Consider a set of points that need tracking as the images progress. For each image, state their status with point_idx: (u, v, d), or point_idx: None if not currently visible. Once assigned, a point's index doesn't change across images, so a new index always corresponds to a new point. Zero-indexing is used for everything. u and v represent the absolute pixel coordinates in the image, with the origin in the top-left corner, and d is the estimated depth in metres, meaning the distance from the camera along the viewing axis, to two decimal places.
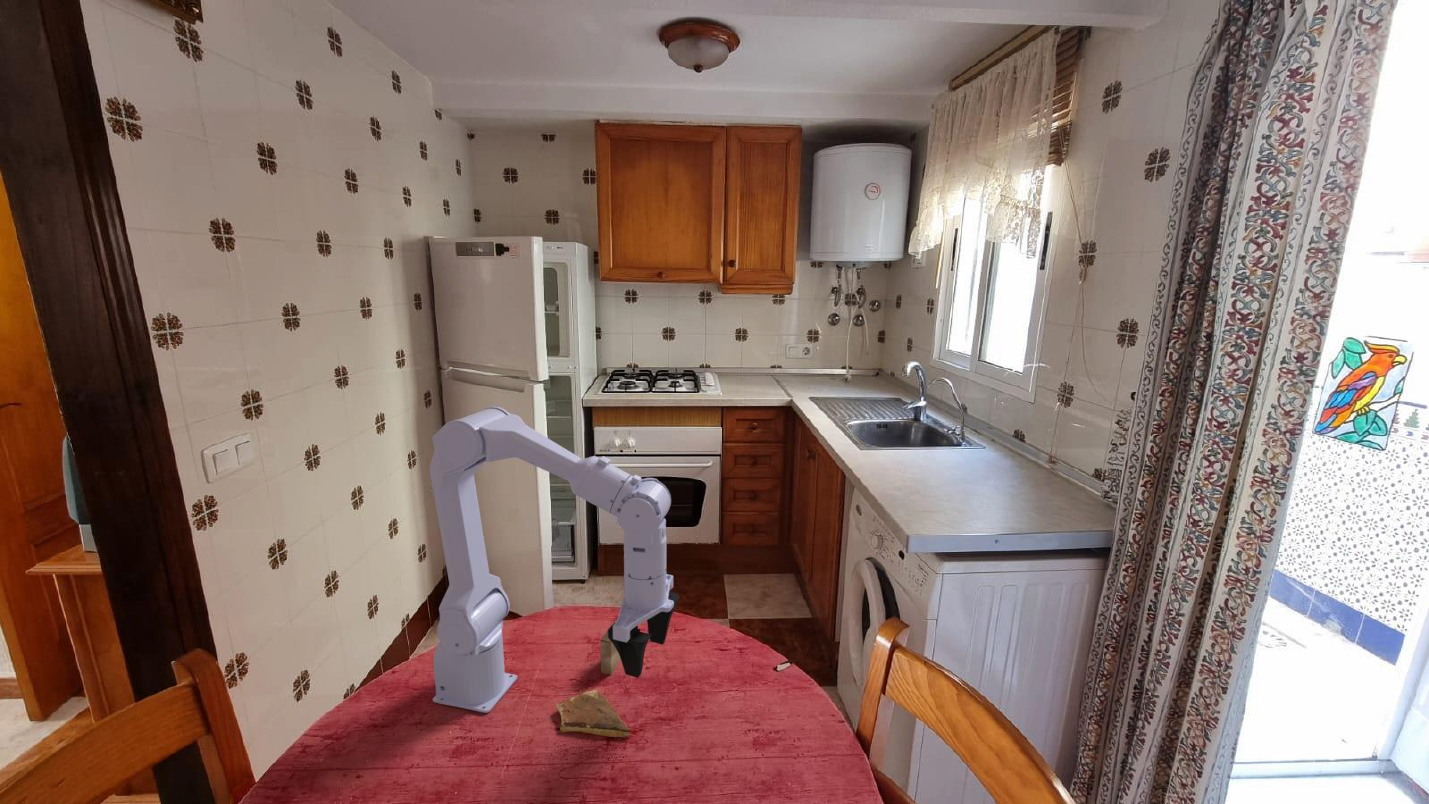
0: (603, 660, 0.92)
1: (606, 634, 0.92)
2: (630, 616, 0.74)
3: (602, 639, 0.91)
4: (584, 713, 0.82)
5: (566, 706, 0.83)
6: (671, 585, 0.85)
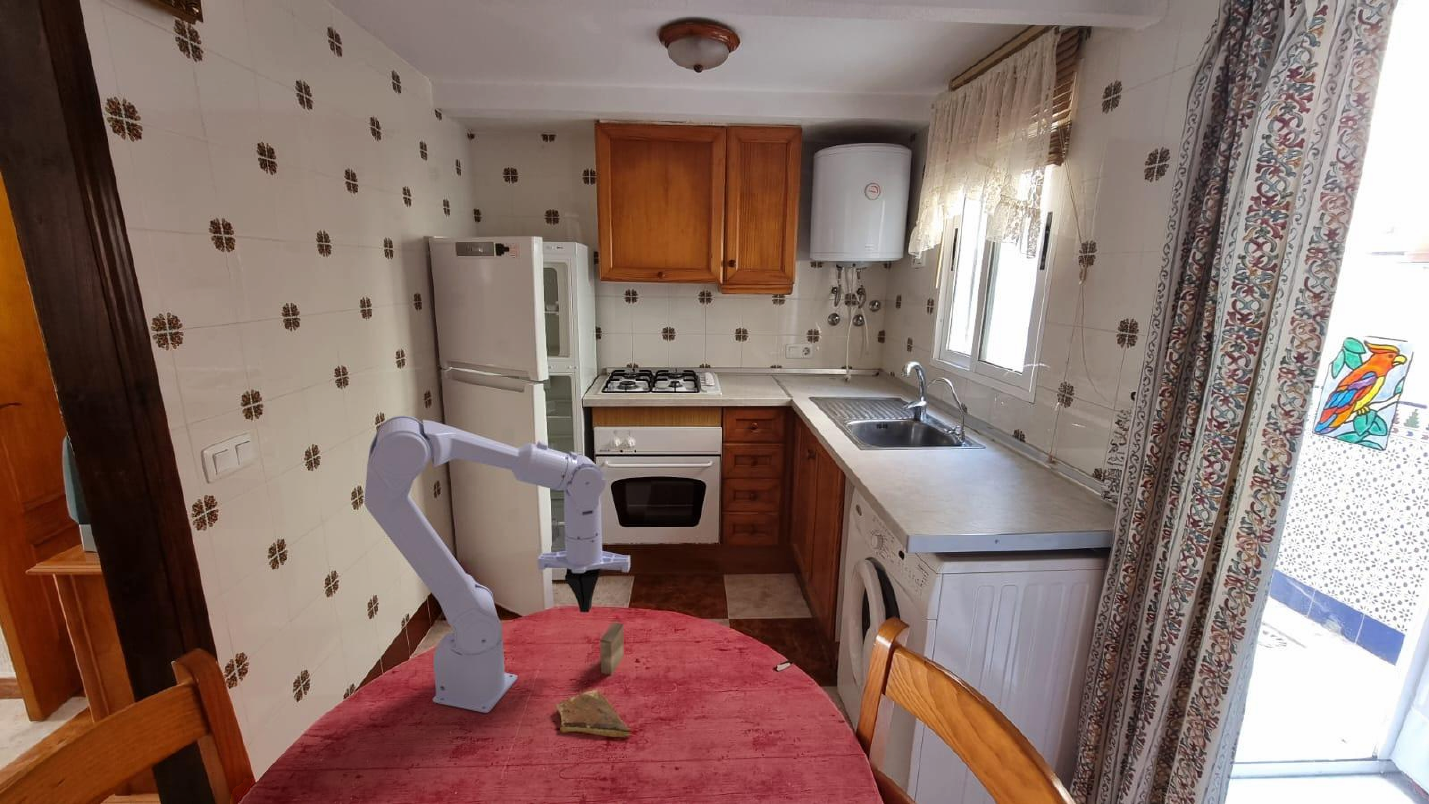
0: (603, 660, 0.92)
1: (606, 634, 0.92)
2: (555, 556, 0.91)
3: (602, 639, 0.91)
4: (584, 713, 0.82)
5: (566, 706, 0.83)
6: (624, 568, 0.91)
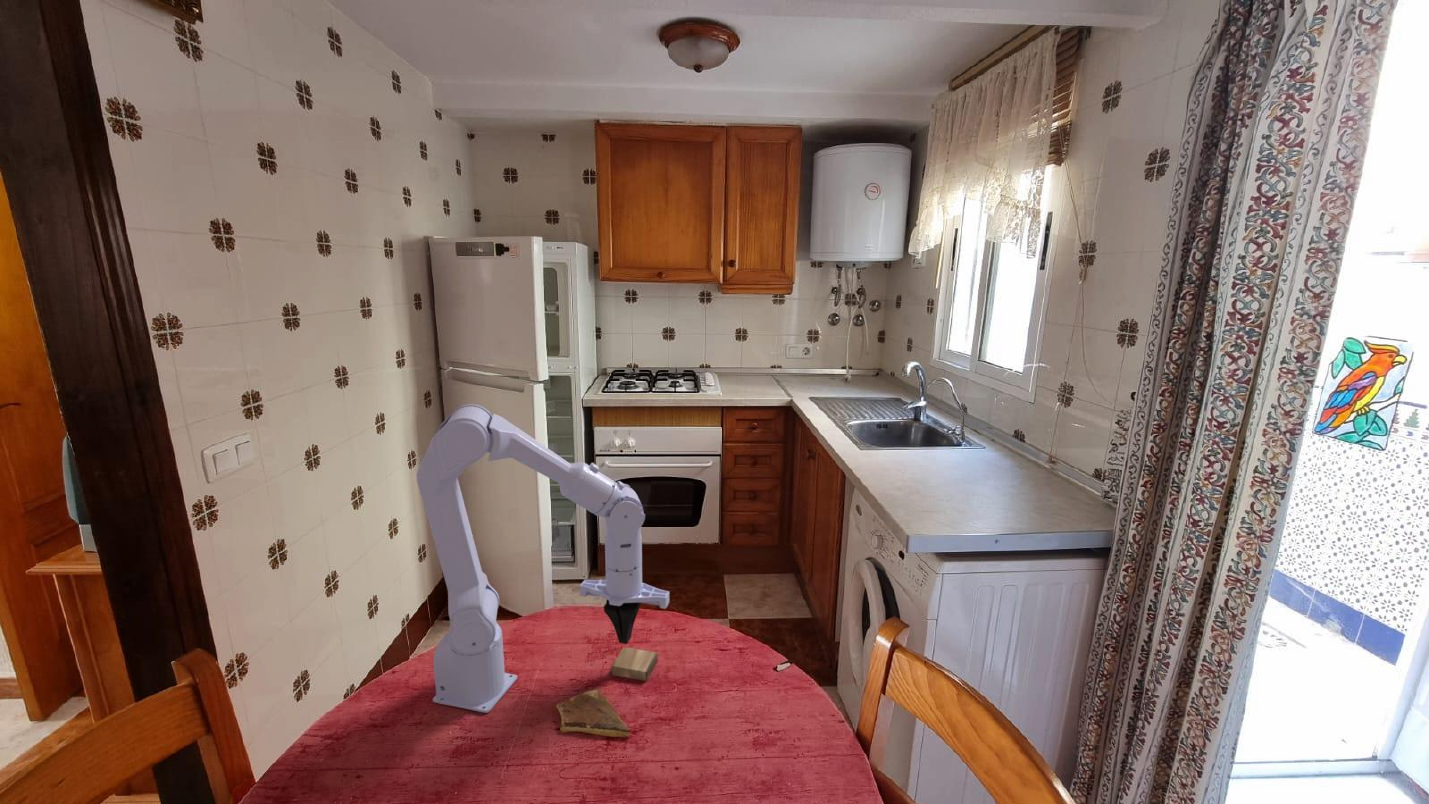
0: (625, 670, 0.91)
1: (650, 667, 0.92)
2: (597, 585, 0.92)
3: (647, 672, 0.90)
4: (584, 713, 0.82)
5: (566, 706, 0.83)
6: (661, 604, 0.89)
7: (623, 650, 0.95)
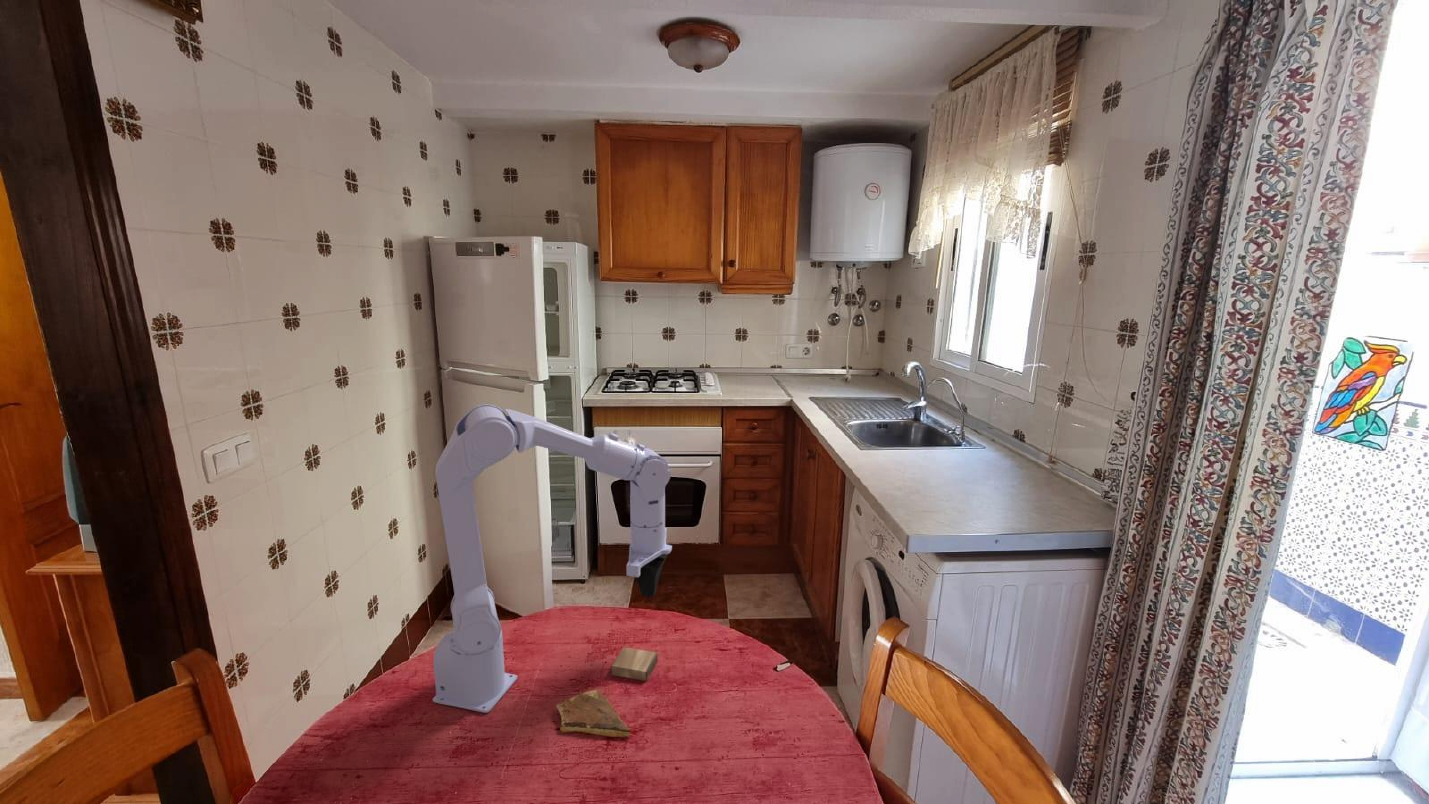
0: (625, 670, 0.91)
1: (650, 667, 0.92)
2: (639, 557, 0.91)
3: (647, 672, 0.90)
4: (584, 713, 0.82)
5: (566, 706, 0.83)
6: (665, 536, 1.02)
7: (623, 650, 0.95)
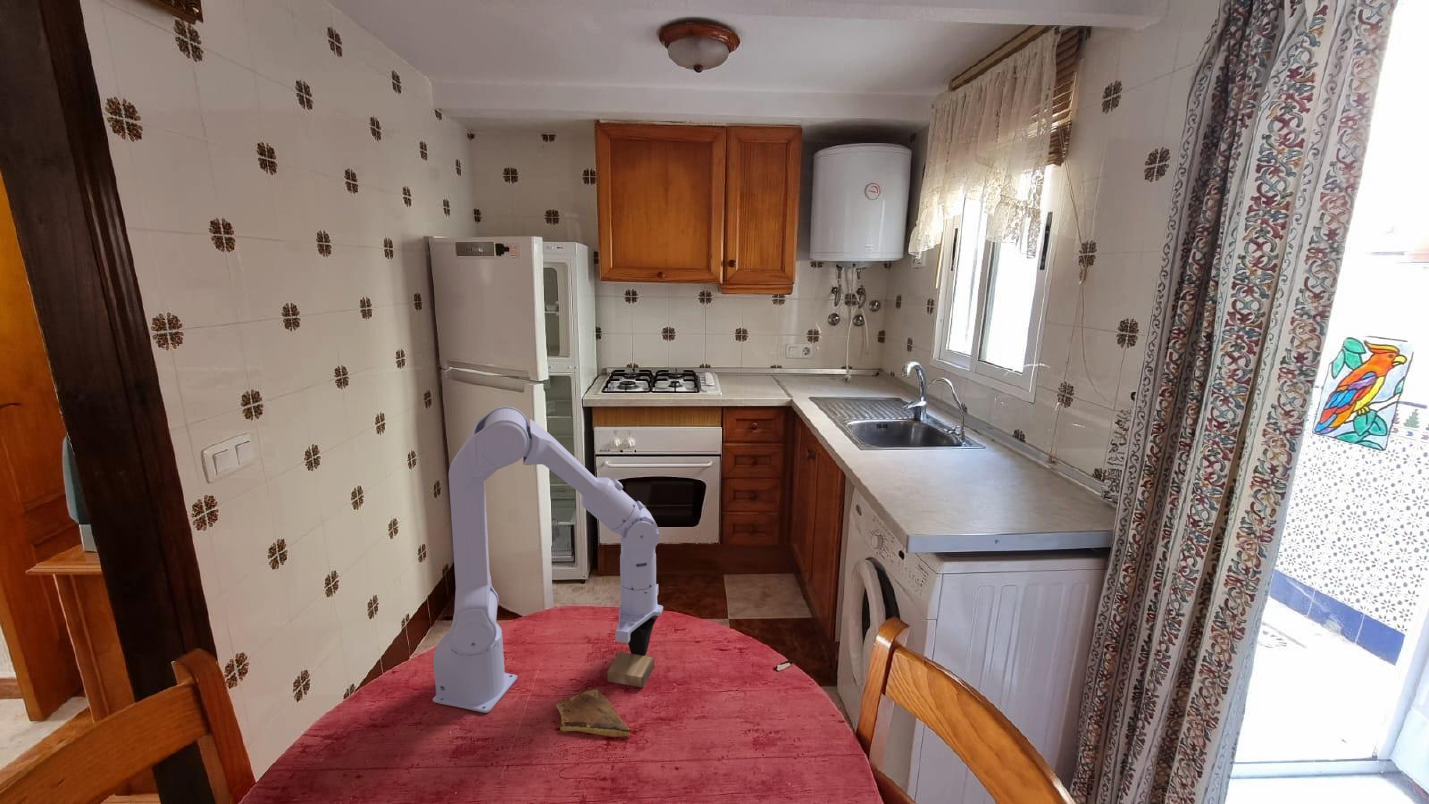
0: (621, 676, 0.89)
1: (646, 673, 0.90)
2: (629, 621, 0.89)
3: (643, 678, 0.89)
4: (584, 713, 0.82)
5: (566, 705, 0.83)
6: (657, 592, 0.99)
7: (619, 655, 0.94)
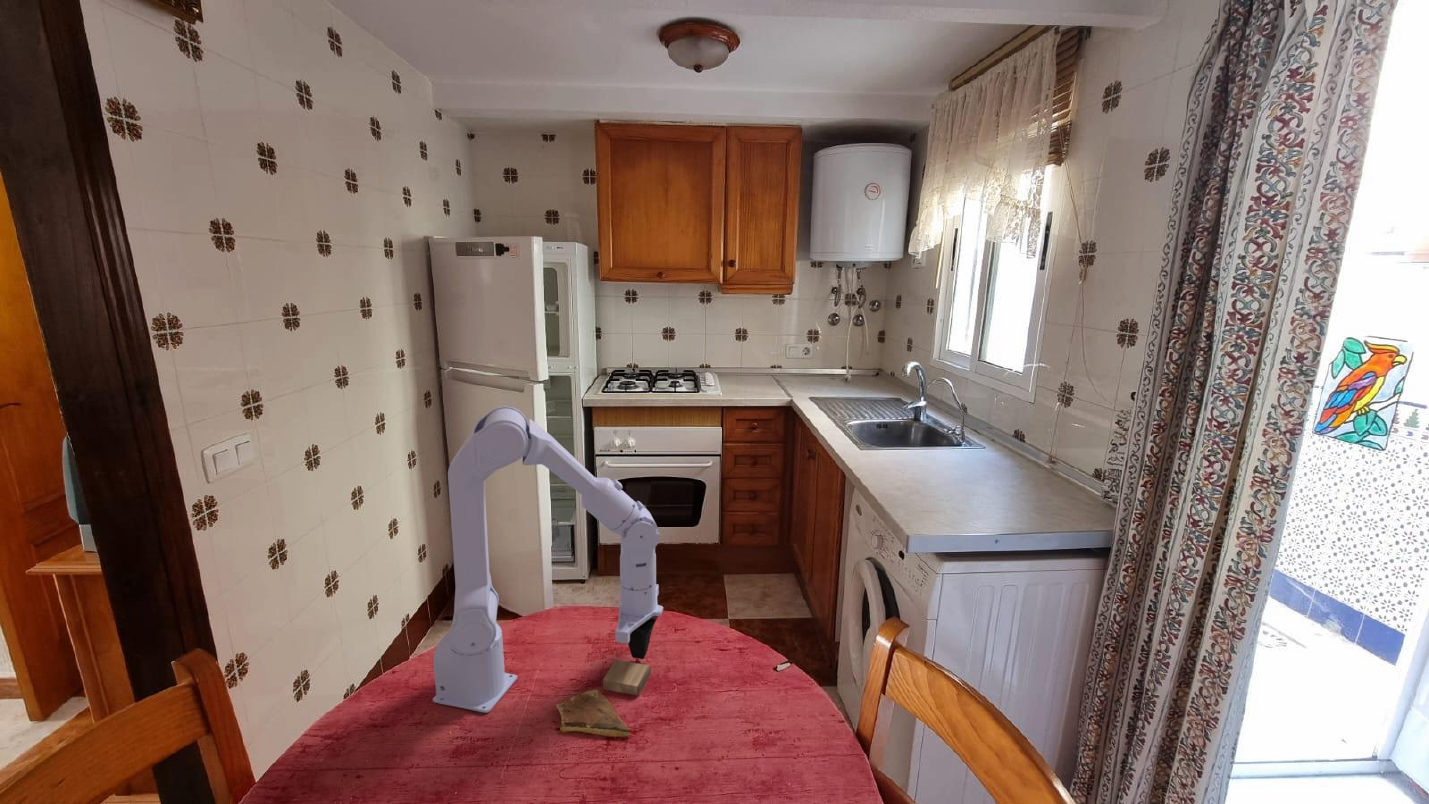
0: (617, 684, 0.88)
1: (642, 681, 0.88)
2: (628, 621, 0.88)
3: (639, 687, 0.87)
4: (584, 713, 0.82)
5: (566, 705, 0.83)
6: (657, 593, 0.99)
7: (615, 663, 0.92)
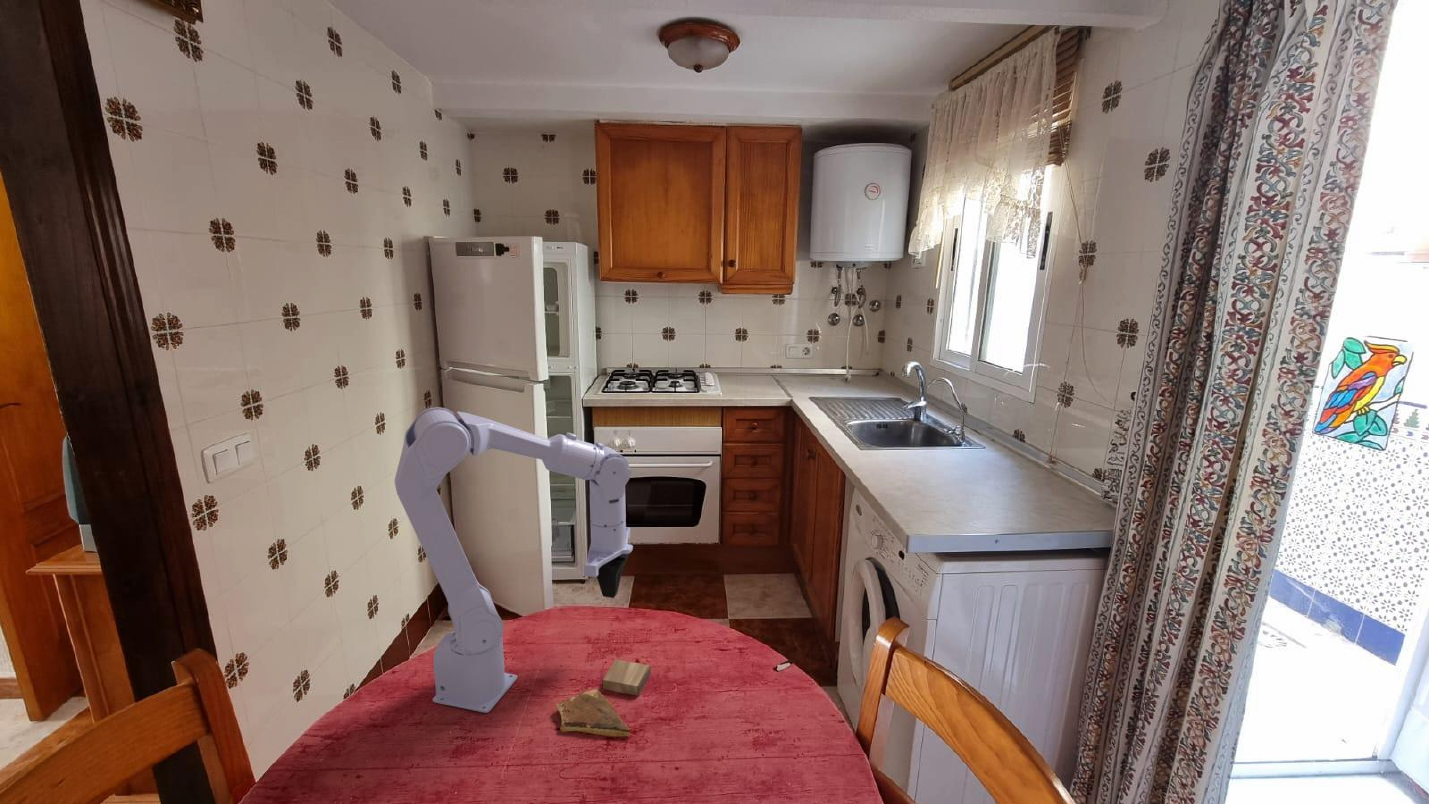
0: (617, 684, 0.88)
1: (642, 681, 0.88)
2: (597, 557, 0.90)
3: (639, 687, 0.87)
4: (584, 713, 0.82)
5: (566, 706, 0.83)
6: (628, 536, 1.01)
7: (615, 663, 0.92)
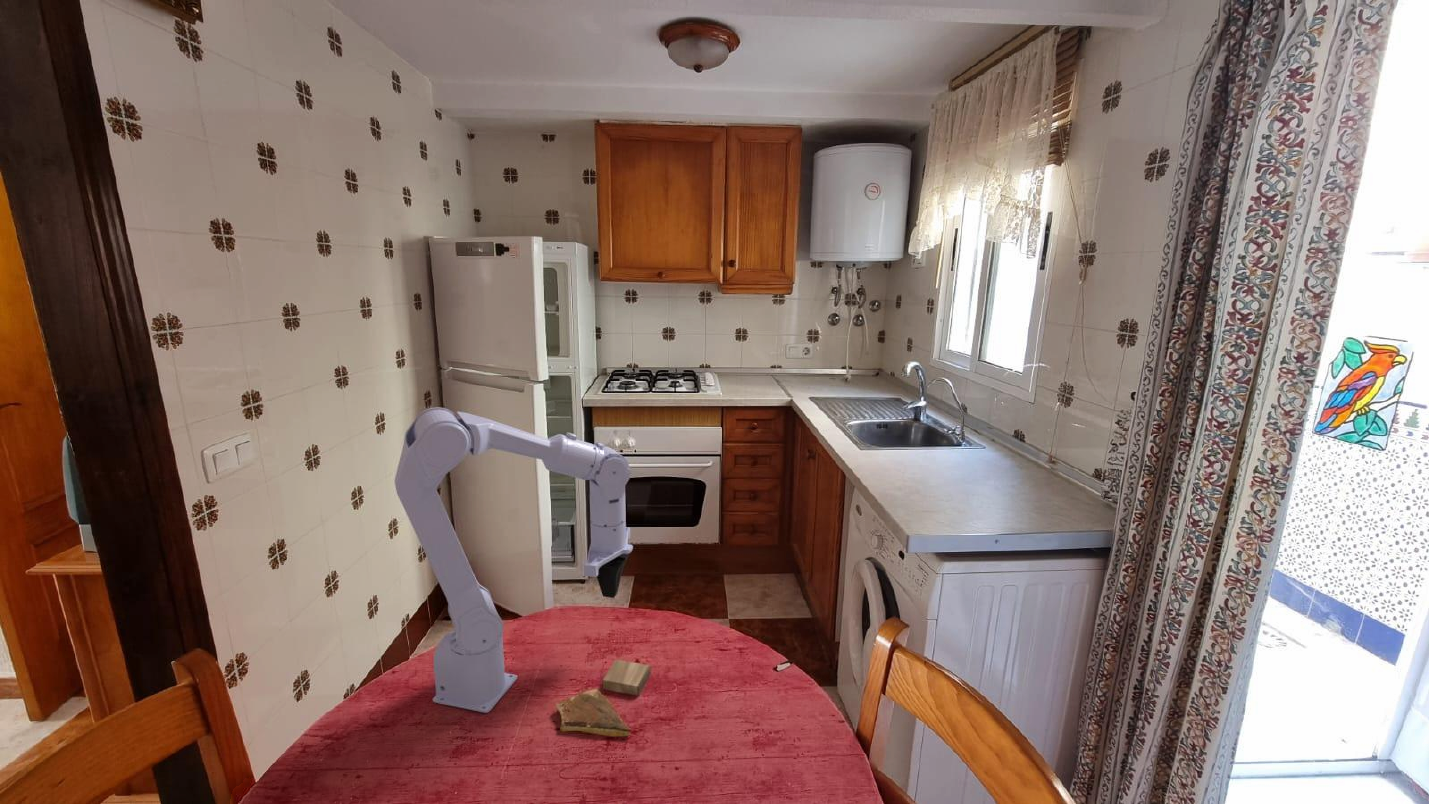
0: (617, 685, 0.88)
1: (642, 682, 0.88)
2: (597, 557, 0.90)
3: (639, 687, 0.87)
4: (584, 712, 0.82)
5: (566, 705, 0.83)
6: (628, 536, 1.01)
7: (615, 663, 0.92)
